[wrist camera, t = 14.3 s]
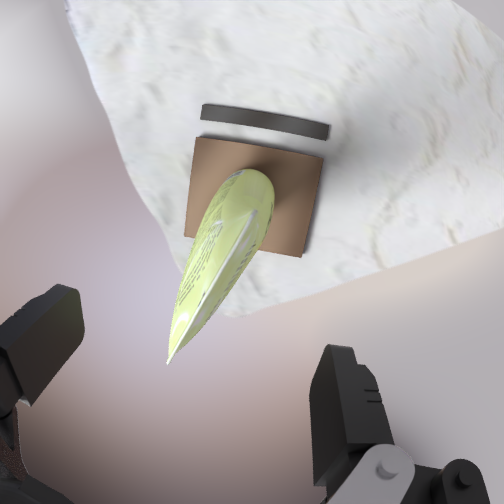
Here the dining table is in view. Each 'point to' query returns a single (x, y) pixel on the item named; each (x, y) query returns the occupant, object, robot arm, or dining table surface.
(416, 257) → the dining table surface
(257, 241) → the tube
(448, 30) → the dining table surface
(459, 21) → the dining table surface
